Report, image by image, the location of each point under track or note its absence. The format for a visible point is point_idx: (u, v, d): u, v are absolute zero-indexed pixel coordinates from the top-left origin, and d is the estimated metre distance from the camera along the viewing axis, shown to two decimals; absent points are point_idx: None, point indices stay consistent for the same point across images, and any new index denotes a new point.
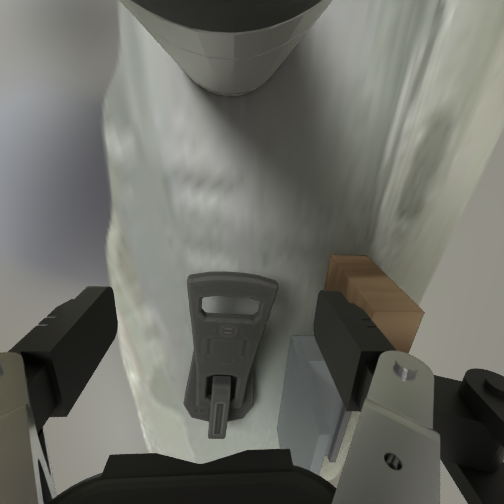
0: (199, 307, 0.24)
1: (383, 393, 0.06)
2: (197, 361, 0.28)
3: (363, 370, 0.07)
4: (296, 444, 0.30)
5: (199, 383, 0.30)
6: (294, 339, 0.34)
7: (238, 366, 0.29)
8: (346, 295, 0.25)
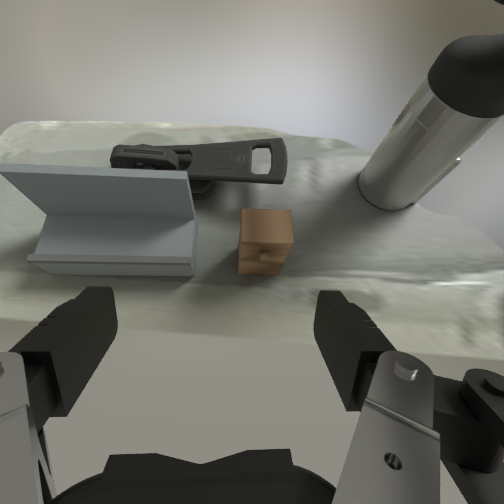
0: (261, 143, 0.39)
1: (383, 393, 0.06)
2: (208, 144, 0.40)
3: (363, 370, 0.07)
4: None
5: (181, 146, 0.40)
6: (197, 227, 0.39)
7: (201, 167, 0.38)
8: None
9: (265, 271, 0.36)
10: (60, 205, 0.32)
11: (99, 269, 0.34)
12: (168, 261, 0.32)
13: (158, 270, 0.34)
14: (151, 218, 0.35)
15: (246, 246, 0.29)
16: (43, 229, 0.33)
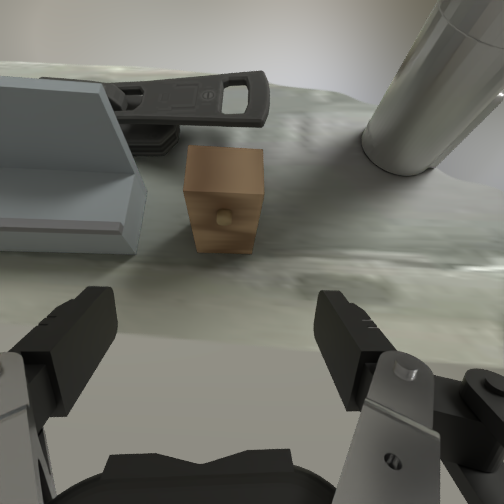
0: (235, 77, 0.29)
1: (383, 393, 0.06)
2: (166, 79, 0.30)
3: (363, 370, 0.07)
4: None
5: (130, 83, 0.30)
6: (145, 190, 0.29)
7: (154, 106, 0.28)
8: None
9: (234, 249, 0.27)
10: None
11: None
12: (87, 227, 0.22)
13: (79, 243, 0.24)
14: (74, 171, 0.25)
15: (193, 200, 0.19)
16: None
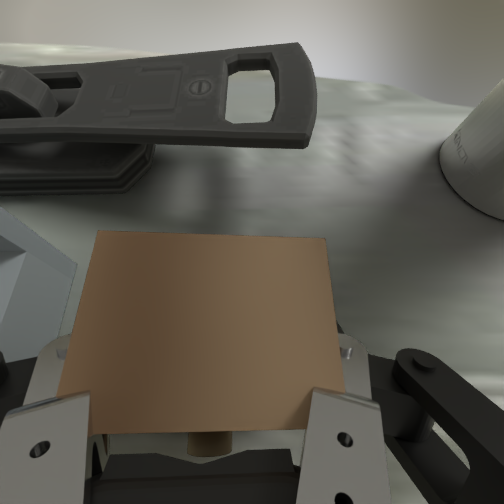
0: (250, 55, 0.16)
1: None
2: (124, 60, 0.17)
3: None
4: None
5: (61, 67, 0.17)
6: (70, 264, 0.16)
7: (97, 109, 0.15)
8: None
9: None
10: None
11: None
12: None
13: None
14: None
15: None
16: None
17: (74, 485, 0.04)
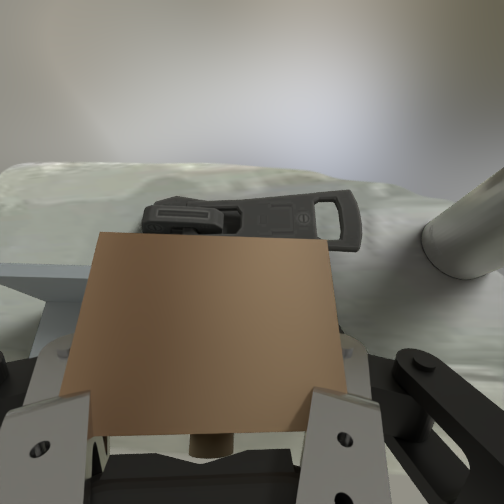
0: (325, 197, 0.32)
1: None
2: (260, 198, 0.32)
3: None
4: None
5: (227, 201, 0.32)
6: None
7: (255, 230, 0.31)
8: None
9: None
10: (62, 296, 0.25)
11: None
12: None
13: None
14: None
15: None
16: (41, 323, 0.26)
17: (74, 485, 0.04)
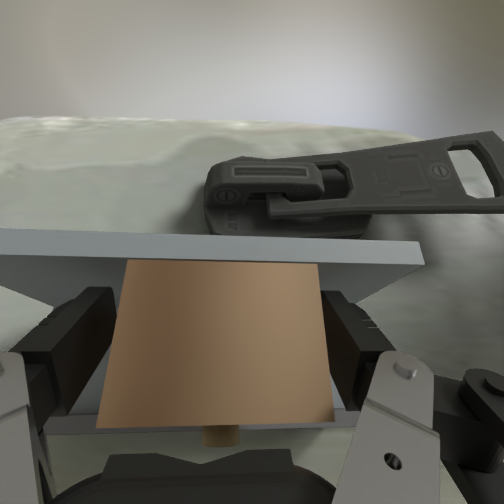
0: (461, 142, 0.23)
1: (383, 393, 0.06)
2: (369, 149, 0.23)
3: (363, 370, 0.07)
4: None
5: (322, 156, 0.23)
6: None
7: (374, 191, 0.21)
8: None
9: None
10: None
11: None
12: (321, 423, 0.15)
13: None
14: None
15: None
16: None
17: (25, 500, 0.03)
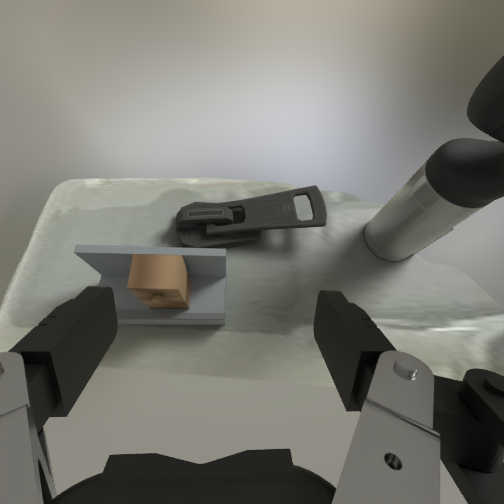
0: (300, 192, 0.47)
1: (383, 393, 0.06)
2: (256, 197, 0.47)
3: (363, 370, 0.07)
4: None
5: (233, 202, 0.47)
6: None
7: (255, 219, 0.45)
8: None
9: (175, 307, 0.38)
10: (115, 269, 0.38)
11: (145, 322, 0.40)
12: (206, 317, 0.38)
13: (195, 322, 0.40)
14: (189, 276, 0.41)
15: (135, 291, 0.31)
16: None
17: (26, 500, 0.03)
